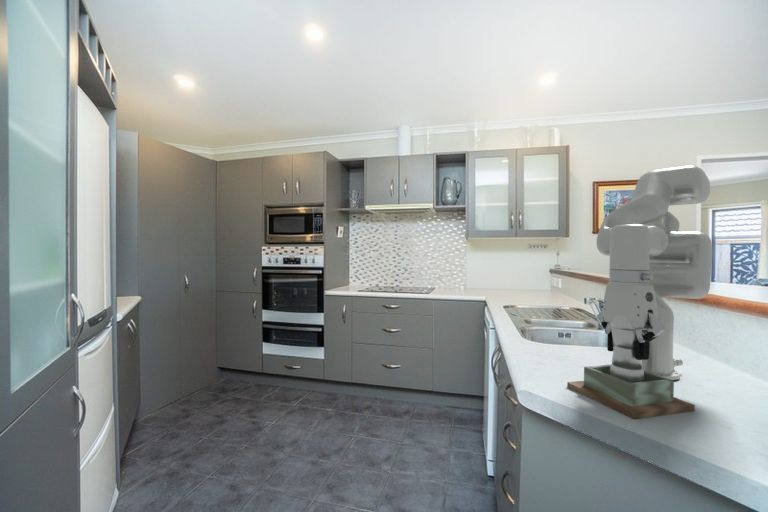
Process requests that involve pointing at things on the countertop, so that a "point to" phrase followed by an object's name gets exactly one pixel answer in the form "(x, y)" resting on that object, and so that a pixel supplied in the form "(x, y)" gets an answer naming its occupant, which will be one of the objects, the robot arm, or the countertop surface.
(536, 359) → the countertop surface
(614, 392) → the green open box
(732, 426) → the countertop surface
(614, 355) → the plastic bottle
